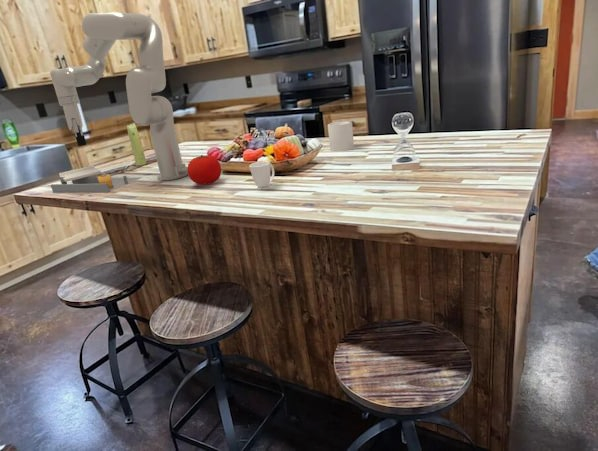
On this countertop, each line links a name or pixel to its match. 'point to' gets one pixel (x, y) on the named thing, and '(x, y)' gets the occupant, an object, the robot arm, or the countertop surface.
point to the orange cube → (105, 180)
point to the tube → (136, 145)
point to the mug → (341, 136)
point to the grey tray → (91, 185)
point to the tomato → (204, 169)
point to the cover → (78, 174)
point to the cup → (262, 174)
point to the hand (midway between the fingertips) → (82, 145)
